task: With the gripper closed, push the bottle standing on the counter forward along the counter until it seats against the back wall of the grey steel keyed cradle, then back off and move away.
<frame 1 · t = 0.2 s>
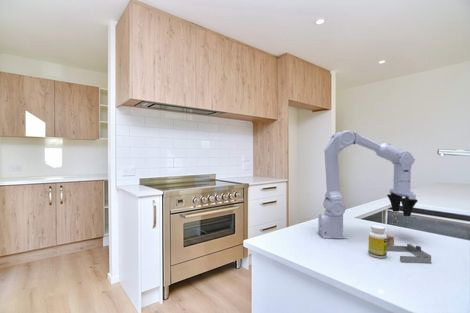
hand: (401, 213, 99), 10 cm above the counter, tool pointing down, fingers open, 7 cm apart
steel cradle: (404, 255, 82), on the counter
tan cardboard box: (383, 243, 93), on the counter
supplement bottle: (377, 255, 82), on the counter
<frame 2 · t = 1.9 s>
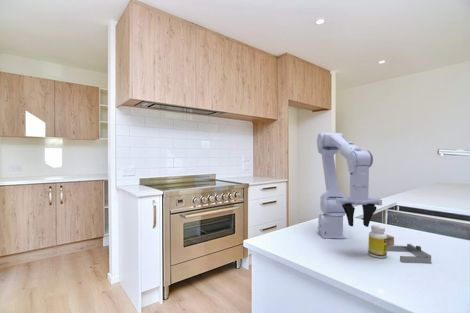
hand: (358, 225, 82), 10 cm above the counter, tool pointing down, fingers open, 4 cm apart
nothing on the counter moved.
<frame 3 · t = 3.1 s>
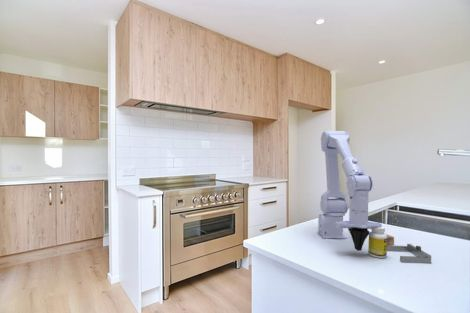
hand: (358, 249, 82), 2 cm above the counter, tool pointing down, fingers closed
nothing on the counter moved.
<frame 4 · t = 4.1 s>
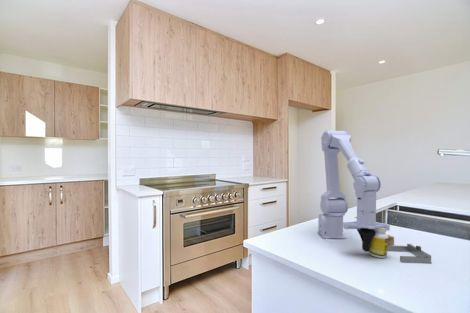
hand: (365, 250, 82), 2 cm above the counter, tool pointing down, fingers closed, pressing on supplement bottle
supplement bottle: (377, 255, 82), on the counter, touching gripper
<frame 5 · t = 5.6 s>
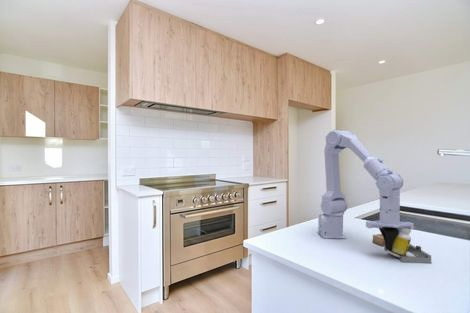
hand: (389, 249, 81), 2 cm above the counter, tool pointing down, fingers closed, pressing on supplement bottle
supplement bottle: (395, 255, 82), on the counter, touching gripper
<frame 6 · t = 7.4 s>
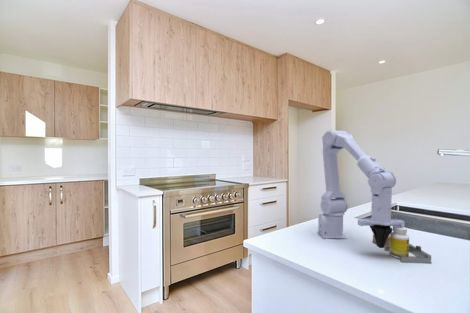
hand: (380, 246, 82), 3 cm above the counter, tool pointing down, fingers closed
supplement bottle: (398, 256, 82), on the counter
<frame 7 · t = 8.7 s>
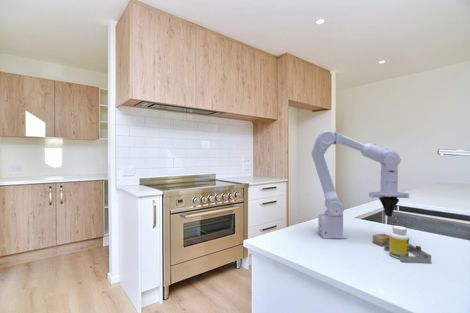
hand: (388, 215, 96), 10 cm above the counter, tool pointing down, fingers closed
nothing on the counter moved.
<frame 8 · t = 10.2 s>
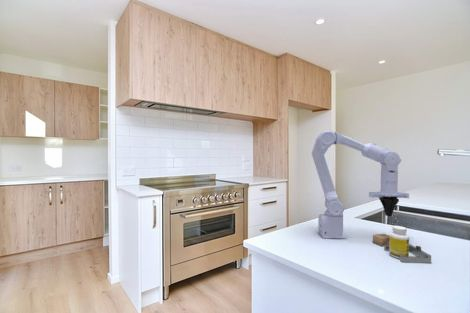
hand: (388, 215, 96), 10 cm above the counter, tool pointing down, fingers closed
nothing on the counter moved.
at the end: supplement bottle 2.1 cm from the steel cradle (horizontally); supplement bottle tilted 0°; supplement bottle moved 6.9 cm from its start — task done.
